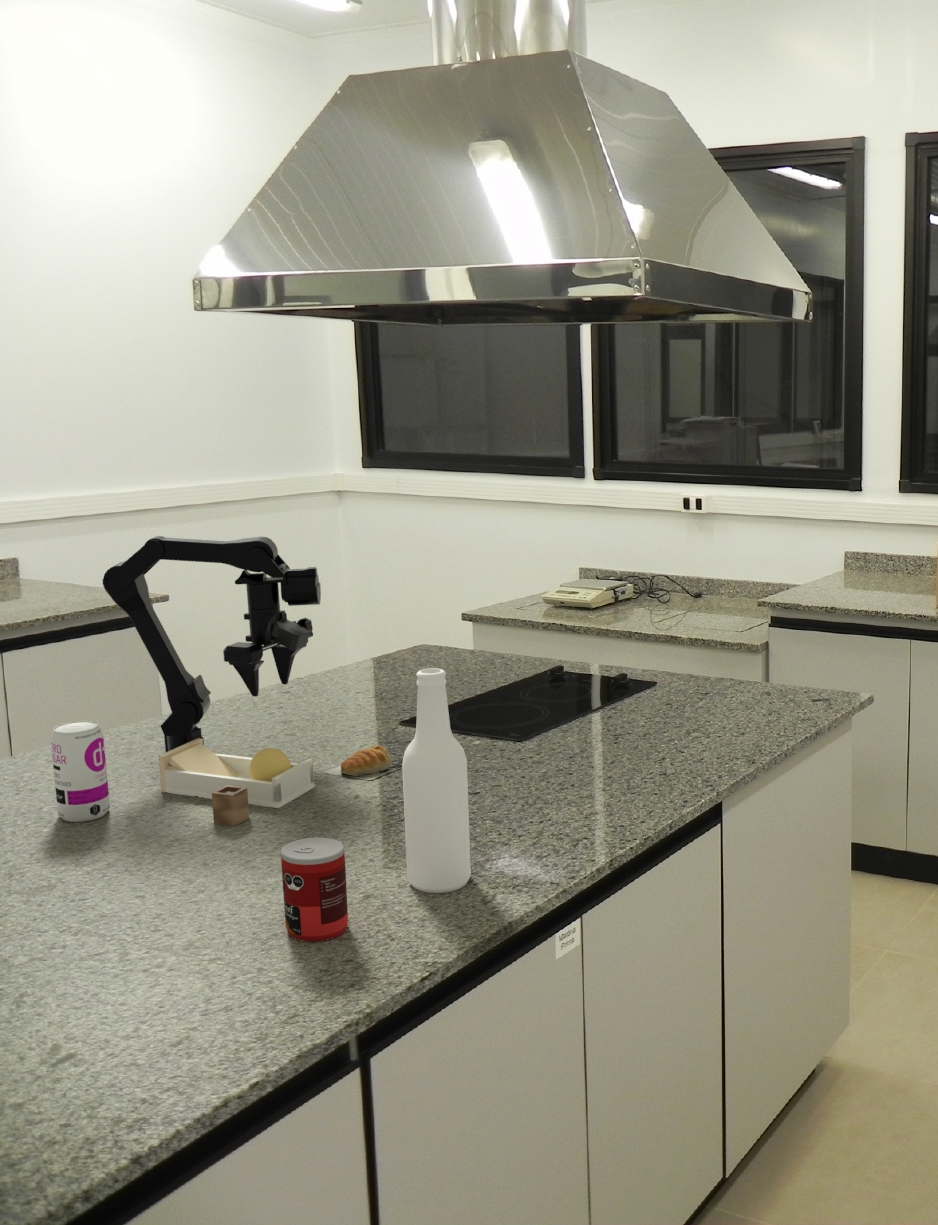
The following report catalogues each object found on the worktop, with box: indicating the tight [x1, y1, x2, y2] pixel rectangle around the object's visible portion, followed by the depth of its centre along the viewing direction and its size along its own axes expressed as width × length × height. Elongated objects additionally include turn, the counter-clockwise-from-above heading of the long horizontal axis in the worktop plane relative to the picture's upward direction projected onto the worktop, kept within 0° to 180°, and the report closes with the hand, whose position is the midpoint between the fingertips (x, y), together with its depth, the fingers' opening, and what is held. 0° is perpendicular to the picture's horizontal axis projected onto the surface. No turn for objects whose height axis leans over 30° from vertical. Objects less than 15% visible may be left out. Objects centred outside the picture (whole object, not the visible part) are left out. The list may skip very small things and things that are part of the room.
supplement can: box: [50, 720, 111, 823], centre depth 199 cm, size 8×8×15 cm
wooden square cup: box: [211, 785, 250, 827], centre depth 195 cm, size 4×4×5 cm
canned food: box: [280, 837, 349, 943], centre depth 154 cm, size 8×8×11 cm
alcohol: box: [401, 667, 472, 894], centre depth 166 cm, size 9×9×30 cm
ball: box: [249, 747, 292, 782], centre depth 206 cm, size 7×7×7 cm
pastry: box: [340, 745, 393, 777], centre depth 219 cm, size 9×7×4 cm
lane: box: [158, 738, 315, 809], centre depth 210 cm, size 24×11×6 cm, turn 65°
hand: (270, 690), depth 225 cm, fingers open, 9 cm apart
